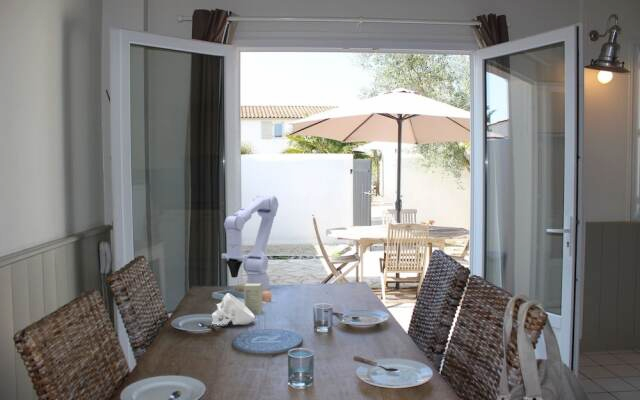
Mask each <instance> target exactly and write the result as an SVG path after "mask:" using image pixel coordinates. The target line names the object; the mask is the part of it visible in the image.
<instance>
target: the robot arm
mask: <svg viewBox="0 0 640 400" xmlns="http://www.w3.org/2000/svg"><path fill="white" fill-rule="evenodd" d="M278 209H279V201H278V197H276V196H274V195H273V196H267V195H266V196H264V195H256V196H255V197H253V200H252V202H251V203H250V204H249V205H248V206H247V207H240V208H239V210H238V211H237V212H235V213H233V215H229V216H227V217H226V218H225V220H224V223H223V226H224V229H225V234H226V237H227V238H226V239H227V243H226V246H227V249H226V252H227V253H226V252H225V253H221V259H227V260H225V263H226V265H227V267H228V269H229V272H230V276H231V278H238V275H239V271H240V268H241V266H242V268H243V271H244V272H245V274H246V279H247V280H246V281H247V282H246V284H261V283H262V291H264V290H269V291H270V277H269V274H268V273H266V272H267V271H268V267H269V266H268V262H269V257H268V256H267V255H266V254H265V253H266V249H267V245H268V241H269V238H270V235H271V231H272V227H273V223H274V219H275V217H276V216H277V212H278ZM254 213H257V215H258V216H259V217H261V221H260V223H259V226H258V231H257V235H256V238H255V242H254V246H253V248H252V251H249V252H248V253H247V254H246V256H245V255H242V230H243V228H244V227H245V224H246V223H247V222H248V221H249V220H250V219H252V215H253V214H254Z"/></svg>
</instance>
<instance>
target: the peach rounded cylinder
mask: <svg viewBox="0 0 640 400" xmlns="http://www.w3.org/2000/svg"><path fill="white" fill-rule="evenodd" d="M271 299H272V290H270V289H269V290H264V291H262V301H263V302H269V303H272V302H271Z"/></svg>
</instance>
